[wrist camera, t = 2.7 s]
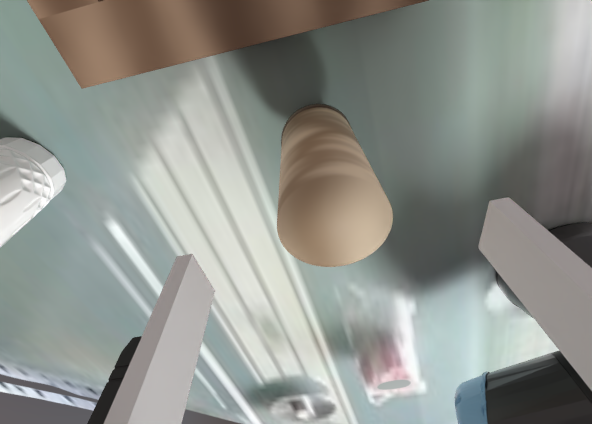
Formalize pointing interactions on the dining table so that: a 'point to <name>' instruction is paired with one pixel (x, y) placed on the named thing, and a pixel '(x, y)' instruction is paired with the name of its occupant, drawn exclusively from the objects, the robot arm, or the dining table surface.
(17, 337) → the dining table surface
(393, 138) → the dining table surface
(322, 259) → the beech peg
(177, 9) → the walnut board
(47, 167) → the white cup
